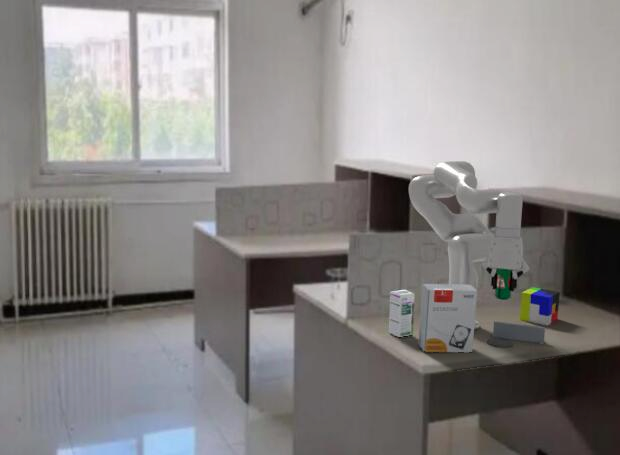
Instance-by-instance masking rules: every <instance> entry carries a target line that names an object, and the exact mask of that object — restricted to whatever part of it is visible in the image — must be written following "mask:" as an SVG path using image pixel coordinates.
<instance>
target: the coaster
mask: <svg viewBox="0 0 620 455" xmlns="http://www.w3.org/2000/svg"><path fill="white" fill-rule="evenodd" d="M486 343H487V345H489V346H491V347H494V348H495V347H496V348H510V347H512V346H513V344H514V342H513V341H512V339H506V338H499V337H494V338H492V337H490V338H489V337H488V338H487V339H486Z"/></svg>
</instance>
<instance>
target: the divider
mask: <svg viewBox="0 0 620 455" xmlns="http://www.w3.org/2000/svg"><path fill="white" fill-rule="evenodd" d="M545 336H546V327H544V326H543V327H542V326H538V325H537V326H536V325H528V324H519V323H514V322H505V321H497V320H494V321H493V331H492V337H491V338H494V337H498V338H505V339H509V340H516V341H522V342H528V341H529V342H530V343H537V344H539V345H544V343H545ZM529 342H528V343H529Z"/></svg>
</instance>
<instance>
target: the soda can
mask: <svg viewBox="0 0 620 455" xmlns="http://www.w3.org/2000/svg"><path fill="white" fill-rule="evenodd" d="M512 278H513V273H512V270H506V269H497V270H496V285H495V289H494V298H496V299H498V300H504V301H506V300H510V299H511V298H512V293H513V292H512V291H511V283H512Z"/></svg>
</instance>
